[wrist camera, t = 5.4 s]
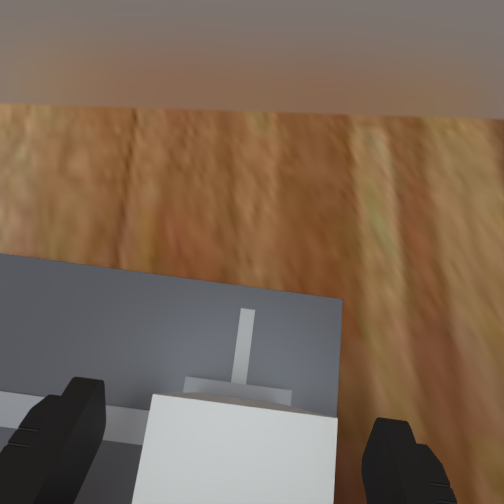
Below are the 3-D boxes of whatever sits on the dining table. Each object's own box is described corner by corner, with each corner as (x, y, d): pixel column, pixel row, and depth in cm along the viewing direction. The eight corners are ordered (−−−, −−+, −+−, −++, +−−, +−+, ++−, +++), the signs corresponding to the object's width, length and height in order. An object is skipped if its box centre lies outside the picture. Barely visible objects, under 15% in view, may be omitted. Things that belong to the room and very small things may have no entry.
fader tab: (289, 390, 16) (369, 390, 7) (279, 508, 15) (360, 704, 5) (187, 377, 16) (129, 357, 7) (167, 493, 14) (61, 666, 5)
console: (327, 312, 20) (343, 298, 17) (308, 604, 17) (325, 651, 14) (-132, 250, 20) (-195, 226, 17) (-260, 531, 16) (-371, 562, 13)
